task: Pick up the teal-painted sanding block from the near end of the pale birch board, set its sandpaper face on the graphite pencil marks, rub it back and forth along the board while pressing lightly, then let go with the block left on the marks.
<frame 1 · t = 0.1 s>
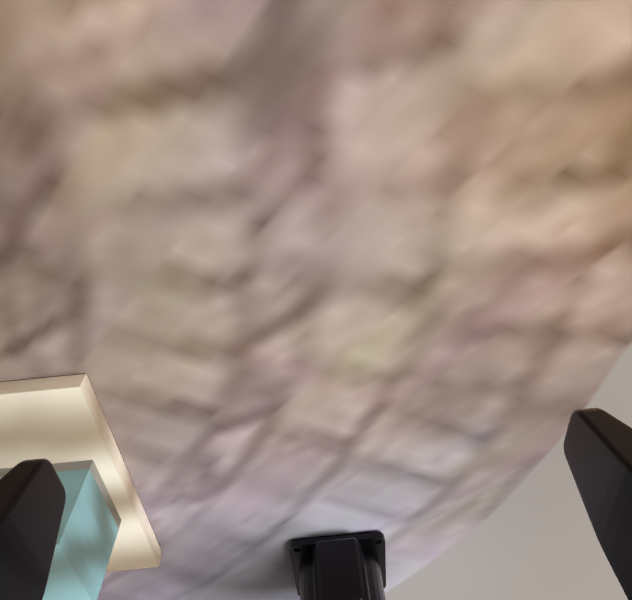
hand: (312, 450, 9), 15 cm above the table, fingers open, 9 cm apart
sanding block: (31, 498, 29), point 1 cm above the table, touching board
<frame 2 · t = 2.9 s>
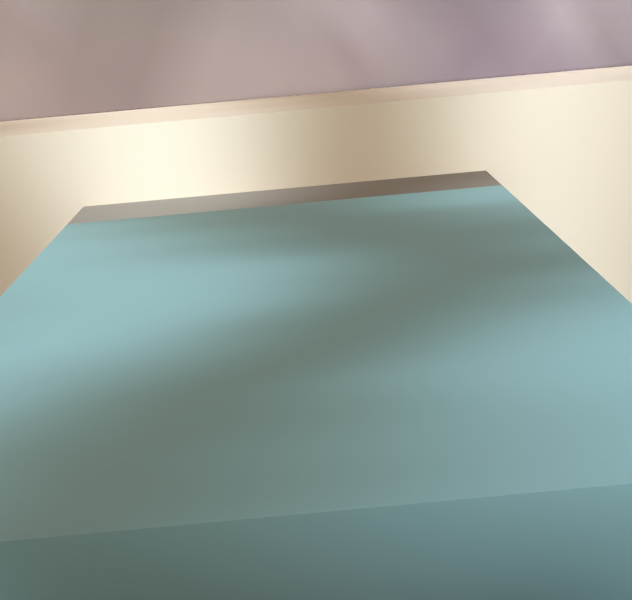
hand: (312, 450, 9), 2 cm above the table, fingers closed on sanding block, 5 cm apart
board: (331, 589, 14), on the table
sanding block: (311, 424, 9), point 1 cm above the table, touching board, gripper
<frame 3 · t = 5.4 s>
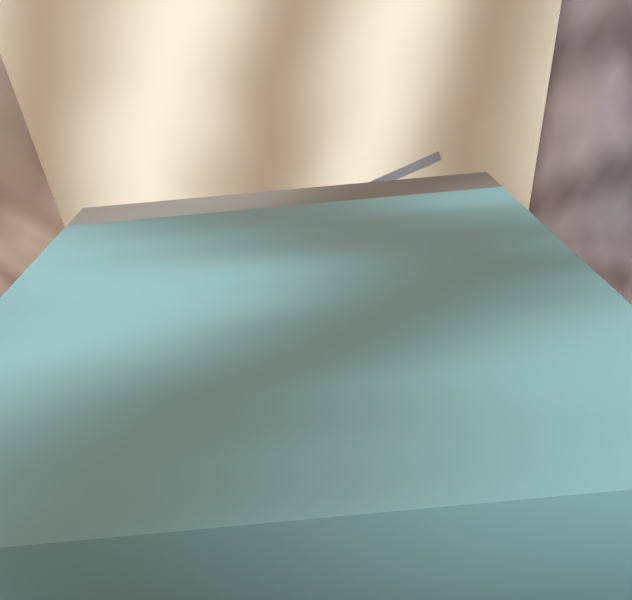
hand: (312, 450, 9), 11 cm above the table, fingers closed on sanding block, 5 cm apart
board: (291, 125, 17), on the table
sanding block: (311, 425, 9), point 11 cm above the table, touching gripper
when the fingers open (2 cm above the table, at t = 11.6 s): sanding block stays where it is, resting on board.
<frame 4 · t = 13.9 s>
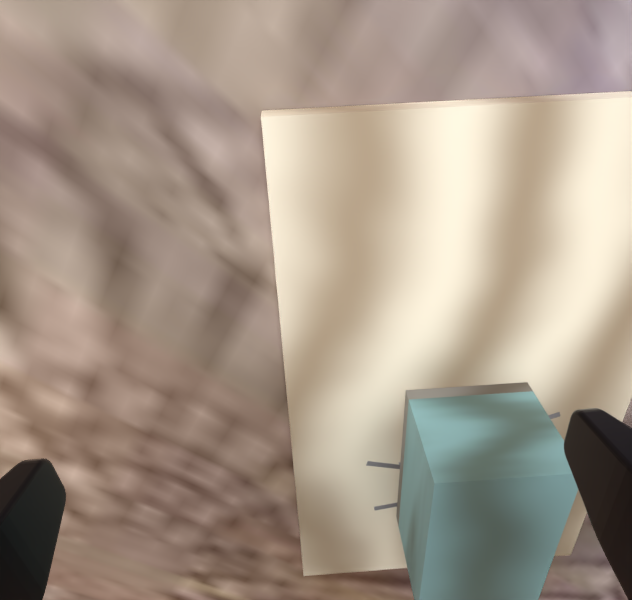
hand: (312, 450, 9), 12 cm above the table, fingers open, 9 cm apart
board: (456, 388, 24), on the table
sanding block: (455, 455, 25), point 1 cm above the table, touching board
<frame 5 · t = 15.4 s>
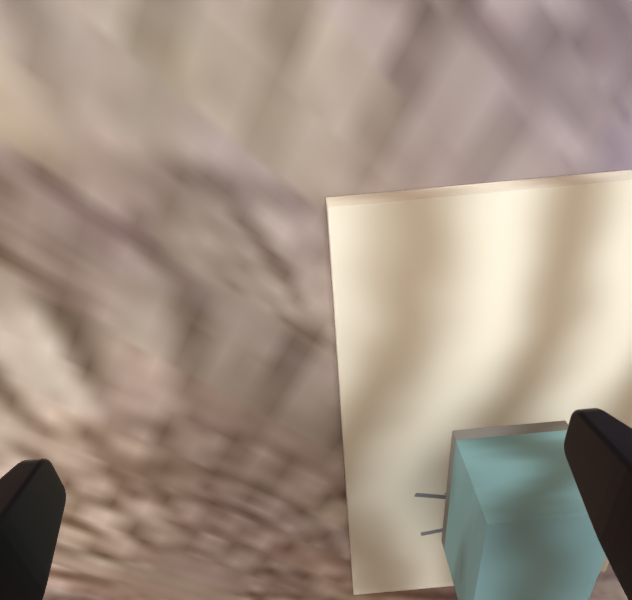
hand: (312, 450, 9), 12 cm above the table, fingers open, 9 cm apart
board: (497, 425, 26), on the table
sanding block: (497, 485, 27), point 1 cm above the table, touching board
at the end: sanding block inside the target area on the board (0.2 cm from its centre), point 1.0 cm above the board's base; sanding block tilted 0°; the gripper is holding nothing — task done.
